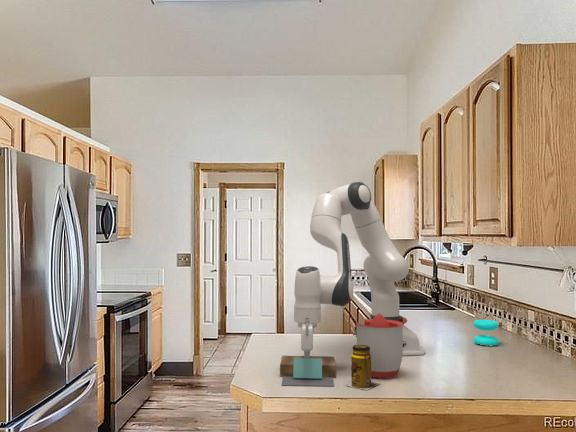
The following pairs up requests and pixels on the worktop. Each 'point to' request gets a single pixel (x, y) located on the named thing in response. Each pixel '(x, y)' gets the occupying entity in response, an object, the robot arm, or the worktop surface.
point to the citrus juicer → (382, 344)
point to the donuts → (487, 326)
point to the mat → (308, 382)
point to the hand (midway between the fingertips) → (307, 358)
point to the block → (307, 368)
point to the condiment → (361, 368)
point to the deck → (327, 361)
